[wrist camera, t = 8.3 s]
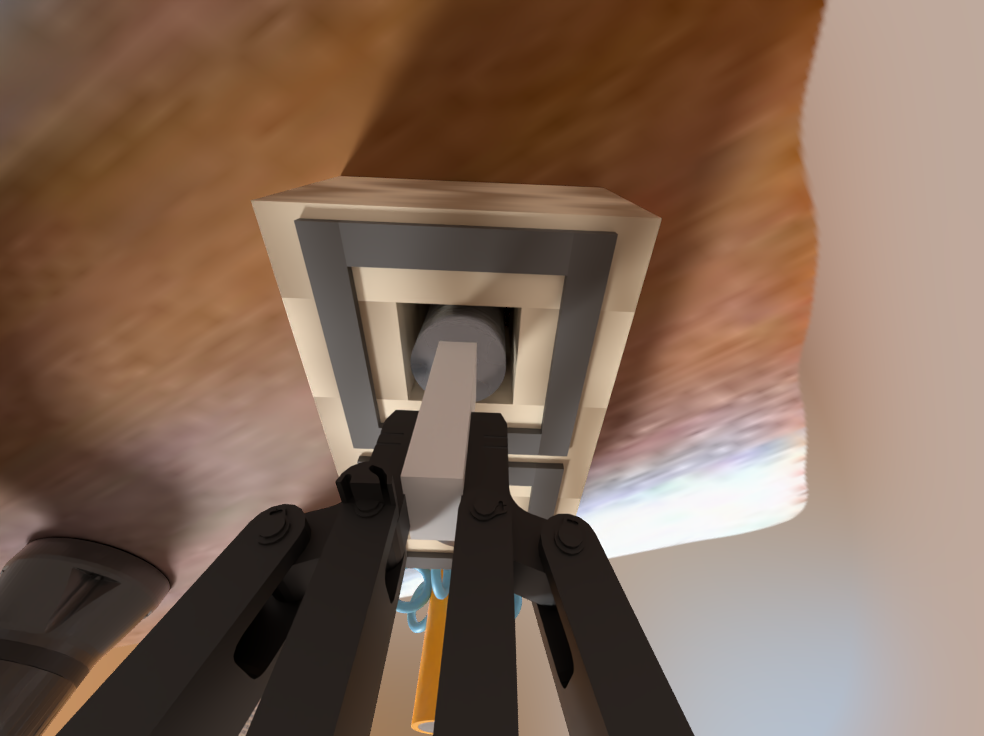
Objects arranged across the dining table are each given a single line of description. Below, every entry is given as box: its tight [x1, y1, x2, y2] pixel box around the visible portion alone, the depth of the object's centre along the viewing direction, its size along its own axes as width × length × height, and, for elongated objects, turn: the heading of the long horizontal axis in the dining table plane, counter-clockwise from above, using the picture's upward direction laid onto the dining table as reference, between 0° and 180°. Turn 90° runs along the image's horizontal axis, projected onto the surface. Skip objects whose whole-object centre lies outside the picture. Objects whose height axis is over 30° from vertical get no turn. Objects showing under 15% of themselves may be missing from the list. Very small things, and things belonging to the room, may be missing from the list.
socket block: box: [251, 176, 662, 570], centre depth 22 cm, size 14×24×8 cm, turn 178°
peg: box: [410, 304, 506, 402], centre depth 18 cm, size 4×4×8 cm
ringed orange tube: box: [396, 568, 522, 734], centre depth 30 cm, size 12×10×15 cm
